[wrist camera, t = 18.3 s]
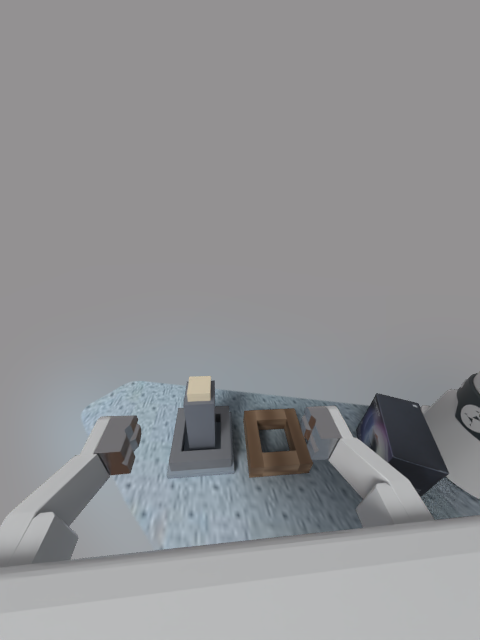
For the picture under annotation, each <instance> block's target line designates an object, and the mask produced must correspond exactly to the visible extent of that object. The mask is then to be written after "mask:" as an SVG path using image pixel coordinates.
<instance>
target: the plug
mask: <svg viewBox="0 0 480 640" xmlns="http://www.w3.org/2000/svg"><path fill="white" fill-rule="evenodd" d="M183 406H184V413H185V420H186V427H187V434H188V441H189V448H190V451H196V450H211V449H215V382H214V381H211V376H199V377H189V382H187V386H186V392H185V398H184V405H183Z"/></svg>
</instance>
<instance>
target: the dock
mask: <svg viewBox="0 0 480 640" xmlns="http://www.w3.org/2000/svg"><path fill="white" fill-rule="evenodd" d="M221 474H234V455H233V438H232V420H231V412H229V406H216V407H215V449H211V450H196V451H190V448H189V441H188V434H187V427H186V420H185V413H184V408H178V414H177V419H176V425H175V431H174V436H173V442H172V448H171V453H170V459H169V466H168V471H167V478H181V477H195V476H208V475H221Z"/></svg>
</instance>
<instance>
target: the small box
mask: <svg viewBox="0 0 480 640" xmlns="http://www.w3.org/2000/svg"><path fill="white" fill-rule="evenodd" d="M357 437H358V439H359V440H360V441H362V442H363V443H364V444H365V445H366V446H368V447H369V448H370V449H371V450H373V451H374V452H375V453H376V454H378V455H379V456H380V457H381V458H382V459H384V460H385V461H386V462H387V463H389V464H390V465H391V466H392V467H394V468H395V469H396V470H397V471H398V472H400V473H401V474H402V475H403V476H405V477H406V478H407V479H408V480H409V481H410V482H411V484H412V485H413V487H414V489H415V490H416V492H417V493H418V495H419V496H420V497H421V496H423V495H424V494H425V493H426V492H427V491H428V490H429V489H431V488H432V487H433V486H434V485H435V484H436V483H437V482H439V481H440V480H441V479H443V478H444V477H446V476H447V475H448V474H449V471H448V469H447V467H446V465H445V462H444V460H443V458H442V456H441V453H440V451H439V449H438V447H437V444H436V442H435V440H434V438H433V435H432V433H431V431H430V429H429V426H428V424H427V422H426V420H425V417H424V415H423V413H422V411H421V408H420V406H419V404H418V403H415V402H411V401H406V400H402V399H398V398H394V397H390V396H386V395H382V394H378V393H377V394H376V395H375V397H374V399H373V401H372V403H371V405H370V406H369V408H368V410H367V412H366V414H365V415H364V417H363V419H362V421H361V423H360V424H359V426H358V428H357Z"/></svg>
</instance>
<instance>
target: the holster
mask: <svg viewBox="0 0 480 640" xmlns="http://www.w3.org/2000/svg"><path fill="white" fill-rule="evenodd" d="M243 422H244V432H245V441H246V450H247V459H248V469H249V478H250V477H263V476H276V475H289V474H301V473H309V471H310V469H311V467H312V465H313V462H312V460H311V457H310V454H309V451H308V448H307V444H306V441H305V439H304V437H303V434H302V430H301V427H300V424H299V421H298V418H297V415H296V412H295V409H294V408H293V409H272V410H251V411H244V419H243ZM268 429H284V430H285V434H286V438H287V441H288V445H289V449H290V451H280V452H265V453H262V449H261V443H260V437H259V431H258V430H268Z"/></svg>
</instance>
